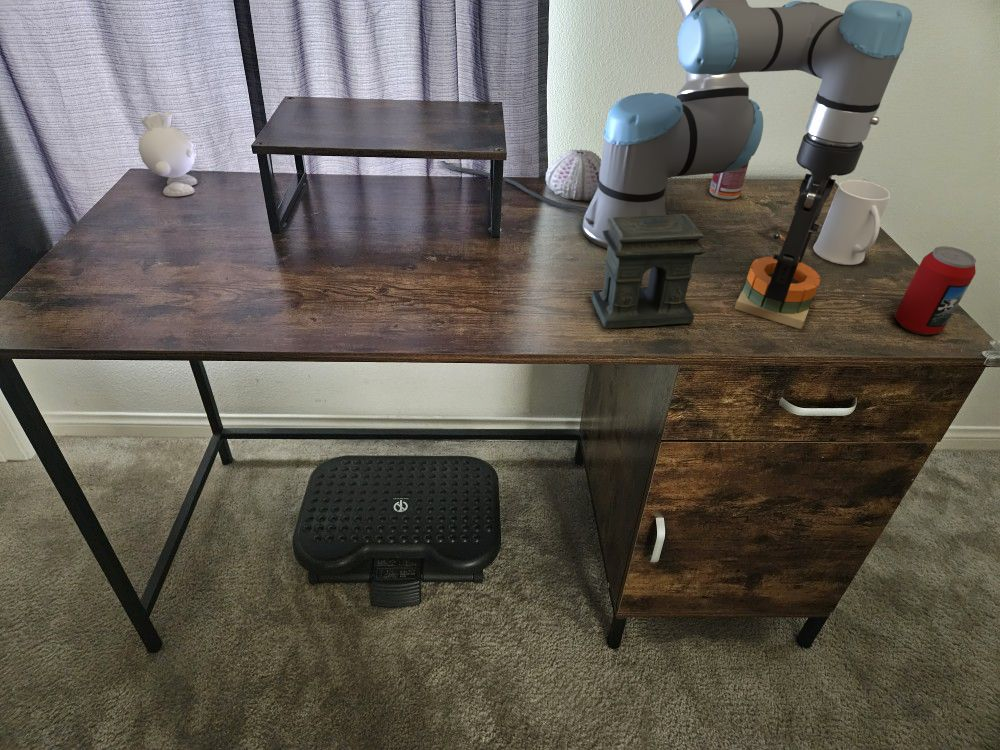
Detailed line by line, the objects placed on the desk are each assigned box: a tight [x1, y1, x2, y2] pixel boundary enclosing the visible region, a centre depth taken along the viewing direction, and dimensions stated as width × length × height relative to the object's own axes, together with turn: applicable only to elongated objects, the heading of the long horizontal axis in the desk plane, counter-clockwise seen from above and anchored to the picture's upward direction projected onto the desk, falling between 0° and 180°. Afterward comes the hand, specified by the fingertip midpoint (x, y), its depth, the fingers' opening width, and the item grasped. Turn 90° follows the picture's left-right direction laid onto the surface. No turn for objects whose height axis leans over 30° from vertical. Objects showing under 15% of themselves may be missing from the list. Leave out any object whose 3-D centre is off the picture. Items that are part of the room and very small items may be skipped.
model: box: [590, 213, 707, 329], centre depth 94 cm, size 14×9×15 cm, turn 99°
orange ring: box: [746, 256, 822, 302], centre depth 99 cm, size 10×10×2 cm
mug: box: [812, 179, 892, 266], centre depth 110 cm, size 12×8×12 cm
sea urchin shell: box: [545, 149, 602, 201], centre depth 130 cm, size 13×14×8 cm
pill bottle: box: [709, 161, 750, 200], centre depth 130 cm, size 6×6×11 cm
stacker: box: [734, 257, 815, 330], centre depth 99 cm, size 10×10×8 cm
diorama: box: [773, 228, 787, 242], centre depth 119 cm, size 3×4×2 cm
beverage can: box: [894, 245, 977, 336], centre depth 95 cm, size 7×7×12 cm
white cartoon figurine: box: [138, 109, 198, 197], centre depth 121 cm, size 15×10×15 cm, turn 13°
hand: (782, 283), depth 99 cm, fingers closed on orange ring, 10 cm apart
